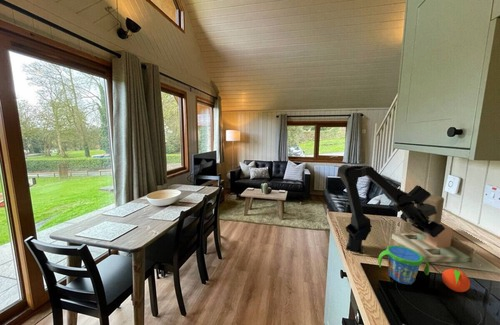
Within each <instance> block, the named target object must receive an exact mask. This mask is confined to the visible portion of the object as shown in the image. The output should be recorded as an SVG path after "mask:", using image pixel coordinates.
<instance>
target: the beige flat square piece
mask: <svg viewBox="0 0 500 325" xmlns="http://www.w3.org/2000/svg"><path fill="white" fill-rule="evenodd" d="M391 239H392V240H394V241H395V242H396V243H398V244H399V246H402V247H406V248H409V249H411V250H414V251H416V252H417V253H419V254H420V255H421V256H422V257H424V258H425V259H426V260H427V262H428V263H468V262H467V261H473V256H474V252H475V249H474V248H473V247H471V246H469V245H467V244H465V243H464V242H462V241H459V240H458V239H457V238H456V239H455V238H454V237H452V238H451V244H450V248H442V247H435V246H433V245H432V244H430V243H429V242H427V241H426V234H421V233H391ZM423 262H424V263H426V262H425V261H424V260H423ZM423 262H422V263H423Z"/></svg>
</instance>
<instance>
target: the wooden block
mask: <svg viewBox="0 0 500 325" xmlns="http://www.w3.org/2000/svg"><path fill="white" fill-rule="evenodd" d="M423 203H426V204H430V205H433V206H435V208H436V211H437V214H433V215H431V216H428V217H429V219H428V220H430V221H431V222H432V221H436V222H438V223H442V217H443V209H444V203H445V198H444V197H443V196H438V195H432V194H431V196H430V197H429V198H428V199H427V200H425V201H424V202H423ZM413 204H414V203H413ZM414 205H415V206H416V207H417V204H414ZM410 228H411V231H413V232H415V233H417V234H427V233H425V232H422V231H421V230H419V229H417V228H415V227H414V226H412V225H411V227H410Z"/></svg>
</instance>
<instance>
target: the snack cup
mask: <svg viewBox="0 0 500 325" xmlns="http://www.w3.org/2000/svg"><path fill="white" fill-rule="evenodd" d="M384 256H387V260H388V261H387V263H388V264H387V265H388V275H389V276H390V278H392V279H393V281H396V282H398V284H402V285H403V284H404V285H410V286H412V284H413V283H414V282H415V281H416V277H417V275H418V272H419V269H420V267H421V265H422V264H423V260H424V261H425V262H424V263H425V266H424V269H423V272H424V274H425V276H429V274H430V268H431V267H430V264H429V262H427V260H426V259H425V258H424V257H422V256H421V255H420V254H419V253H417V252H416V251H414V250H411V249H409V248H406V247H403V246H402V245H388V246H387V248H386V249H384V250H383V251H381V252H380V254H379V255H378V258H377V264H378V266H379V268H382V260H383V257H384Z"/></svg>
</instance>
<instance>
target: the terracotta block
mask: <svg viewBox="0 0 500 325" xmlns="http://www.w3.org/2000/svg"><path fill="white" fill-rule="evenodd" d="M440 224H442V225H443V226H444V227H445V230H443V231H442V232H441V233H440V234H439V235H437V236H436V237H431V236H430V235H428V234H426V241H427V242H429V243H430V244H432V245H433V246H435V247H442V248H450V244H451V238H453V232H454V230H453V229H454V228H452V227H451V226H448V225H446V224H444V223H442V222H441V223H440Z"/></svg>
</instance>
